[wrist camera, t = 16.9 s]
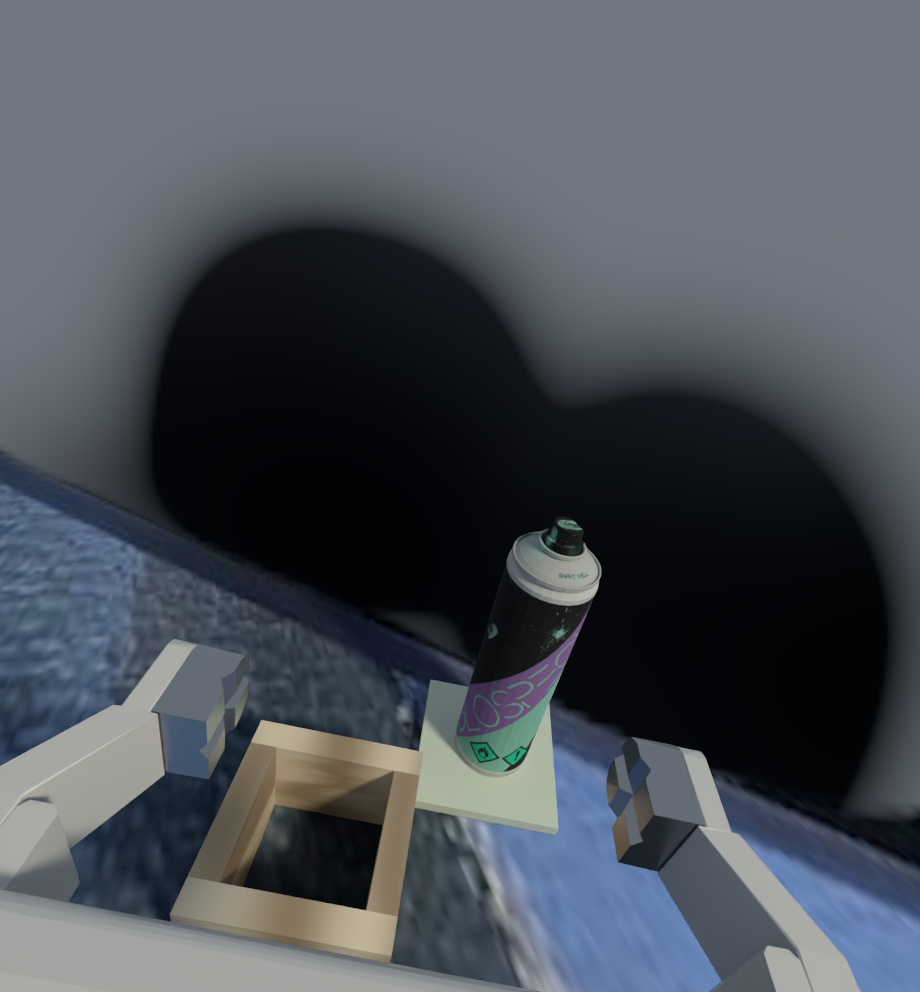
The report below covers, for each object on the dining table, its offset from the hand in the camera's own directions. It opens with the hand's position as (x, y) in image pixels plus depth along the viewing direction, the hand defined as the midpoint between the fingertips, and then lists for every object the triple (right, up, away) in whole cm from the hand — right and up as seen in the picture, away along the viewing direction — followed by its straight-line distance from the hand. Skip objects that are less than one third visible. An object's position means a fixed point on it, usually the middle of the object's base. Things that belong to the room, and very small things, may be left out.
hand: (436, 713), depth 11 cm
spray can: (+3, -14, +29) cm, 32 cm away
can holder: (-8, -18, +20) cm, 28 cm away
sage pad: (+2, -15, +29) cm, 32 cm away
